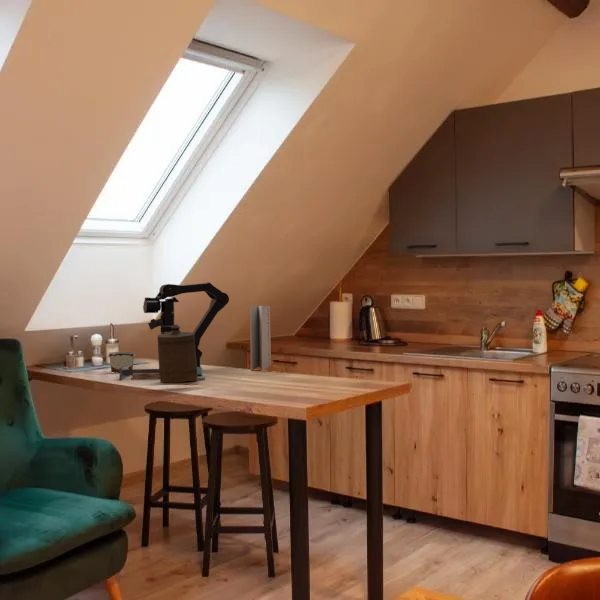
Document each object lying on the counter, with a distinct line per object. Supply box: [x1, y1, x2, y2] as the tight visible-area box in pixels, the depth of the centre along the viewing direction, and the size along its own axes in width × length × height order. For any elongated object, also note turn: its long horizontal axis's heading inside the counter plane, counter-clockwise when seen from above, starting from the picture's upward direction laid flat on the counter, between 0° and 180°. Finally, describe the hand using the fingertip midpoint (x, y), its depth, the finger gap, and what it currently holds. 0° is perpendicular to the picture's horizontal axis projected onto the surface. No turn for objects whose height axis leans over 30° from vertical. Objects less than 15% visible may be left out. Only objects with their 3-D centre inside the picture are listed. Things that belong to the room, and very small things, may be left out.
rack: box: [119, 365, 160, 381], centre depth 336 cm, size 22×20×5 cm
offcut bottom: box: [130, 376, 160, 381], centre depth 329 cm, size 13×4×2 cm, turn 93°
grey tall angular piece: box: [249, 305, 272, 371], centre depth 349 cm, size 14×6×30 cm, turn 168°
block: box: [197, 366, 203, 376], centre depth 328 cm, size 10×3×7 cm
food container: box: [107, 351, 136, 372], centre depth 358 cm, size 12×6×10 cm, turn 84°
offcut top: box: [131, 373, 160, 378], centre depth 329 cm, size 12×3×2 cm, turn 92°
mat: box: [194, 375, 206, 381], centre depth 323 cm, size 12×10×1 cm
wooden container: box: [157, 324, 197, 384], centre depth 313 cm, size 15×15×22 cm
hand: (168, 348), depth 346 cm, fingers open, 9 cm apart
